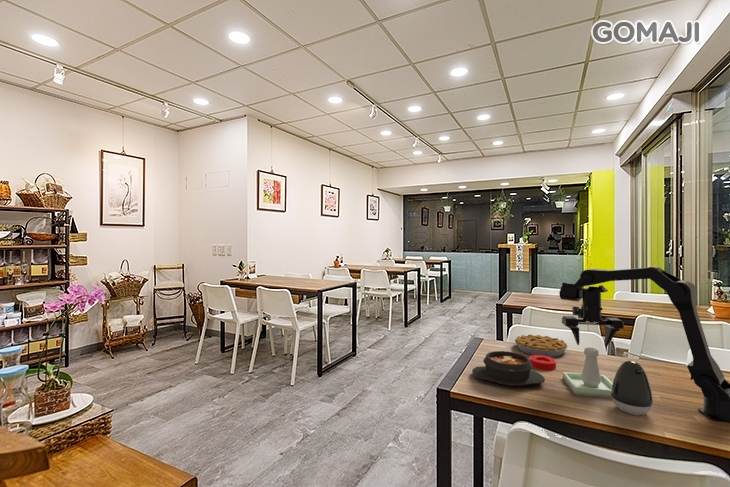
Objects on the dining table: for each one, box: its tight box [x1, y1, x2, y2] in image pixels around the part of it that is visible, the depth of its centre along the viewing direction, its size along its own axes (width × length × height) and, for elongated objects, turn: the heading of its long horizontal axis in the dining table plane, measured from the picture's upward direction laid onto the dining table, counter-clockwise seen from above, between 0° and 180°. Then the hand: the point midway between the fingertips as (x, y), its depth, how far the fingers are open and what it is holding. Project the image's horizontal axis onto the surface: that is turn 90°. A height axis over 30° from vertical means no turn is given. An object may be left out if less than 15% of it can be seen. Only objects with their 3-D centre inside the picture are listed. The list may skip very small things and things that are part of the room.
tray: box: [562, 371, 613, 399], centre depth 124 cm, size 14×14×2 cm
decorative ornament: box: [529, 354, 557, 371], centre depth 145 cm, size 10×10×3 cm
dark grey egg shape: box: [611, 360, 654, 416], centre depth 108 cm, size 10×10×15 cm
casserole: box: [471, 350, 546, 387], centre depth 132 cm, size 25×19×8 cm
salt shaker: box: [581, 347, 601, 388], centre depth 124 cm, size 6×6×13 cm
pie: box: [514, 334, 569, 358], centre depth 165 cm, size 22×22×5 cm
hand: (591, 345), depth 131 cm, fingers open, 9 cm apart
